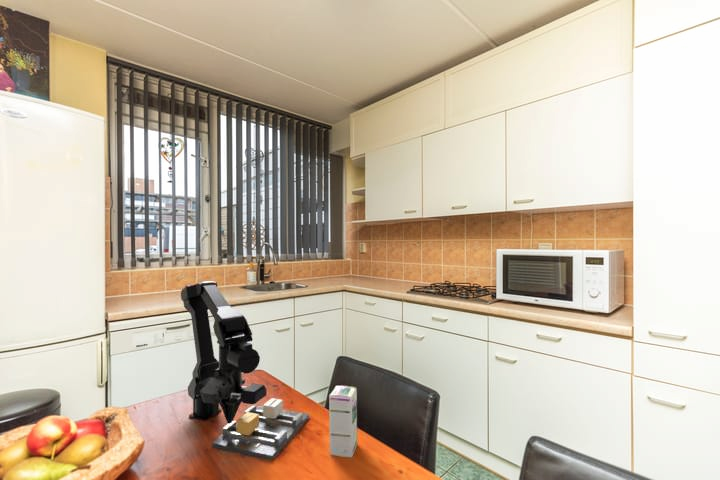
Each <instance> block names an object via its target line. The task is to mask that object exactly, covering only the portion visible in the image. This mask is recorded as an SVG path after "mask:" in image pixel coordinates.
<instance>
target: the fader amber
mask: <svg viewBox="0 0 720 480" xmlns="http://www.w3.org/2000/svg"><path fill="white" fill-rule="evenodd" d="M236 423H237V428H236V433H238V434H243V435H248V436H249V435H252V432H253V431H254V430H255V429H256V428H258V427H259V414H255V413H250V412H247V413H245V414H244V413H243V415H242V416H240V417H239V418H237V419H236Z"/></svg>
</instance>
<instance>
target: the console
mask: <svg viewBox="0 0 720 480" xmlns="http://www.w3.org/2000/svg"><path fill="white" fill-rule="evenodd" d="M247 412H250V413H255V414H259V427H258V428H256V429H255V430H254V431H253V432H252V435H249V436H248V435H243V434H238V433H236V428H237V420H233V422H232V423H227V424H226V425H225V426H224V427H222V434H221V435H220V436H218V437H217V438H216V439H215V440H214V441H212V442H211V449H216V450H220V451H224V452H230V453H233V454H238V455H241V456H248V457H253V458H257V459H262V460H266V461H270V462H272V461H273V460H274V459H276V457H277V456H278V455H279V454H280V452H281V451H282V450H283V449H284V448H285V446H286V445H288V443H289V442H290V441H291V439H293V437H294V436H295V435H296V434H297V433H298V432H299V430H300V429H301V428H302V427H303V426H304V425H305V424H306V422H308V420H309V419H310V413H307V412H306V413H305V412H299V411H293V410H287V409H283V411H282V412H281V413H280V414H279V415H278V416H277V419H273V418H267V417H263V405H258V406H257V405H256V404H251V406H250V407H248V408H247V409H246V410H245V411H243V415H244V414H245V413H247Z"/></svg>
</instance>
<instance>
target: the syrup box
mask: <svg viewBox="0 0 720 480" xmlns="http://www.w3.org/2000/svg"><path fill="white" fill-rule="evenodd" d="M357 390H358V389H357V387H356V386H351V385H350V386H348V385H335V387H334V388H333V389H332V391H331V393H330V394H329V396H328V398H329V400H328V403H329V404H328V405H329V406H328V409H329V410H328V412H329V413H328V414H329V416H328V417H329V419H328V420H329V421H328V422H329V424H328V425H329V429H328V430H329V455H331V456H335V457H343V458H353V455H354V453H355V451H356V448H357V446H358V402H357V401H358V399H357V398H358V397H357V396H358V393H357V392H358V391H357Z"/></svg>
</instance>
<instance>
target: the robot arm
mask: <svg viewBox="0 0 720 480" xmlns="http://www.w3.org/2000/svg"><path fill="white" fill-rule="evenodd" d="M180 298H181V301H182V303H183V306H184V308H185V310H186V311H187V312H188V313H189V314H190V316H191V325H192V333H193V339H194V347H195V356H196V364H195V366H194V368H193V370H192V379H191V380H190V382H189V385H188V386H187V395H188V397H190V398H191V399H192V400H193V401H192V412H191V413H190V414H189V415H188V418H189V419H196V420H201V421H208V420H210V419H211V418H212V417H214V416H215V415H217V414H218V413H220V412H221V411H222V412H223V415H224V417H225V421H226V423H227V424H229V423H232V422H233V421H234V419H235V417H236V414H237V412H238V411H239V408H240V405H241V404H247V405H256V404H257V403H258V402H259V401H260V400H262V399H263V398H265V397H266V396H267V393H268V392H267V386H266V385H265V384H262V383H261V384H260V383H251V384H250V385H248V386H244V384H245V382H246V379H245V378H244V379H243V374H250V373H252V372H254V371H256V369H257V368H258V366H259V364H260V360H261V356H260V354H259V353H258V351H257V350H256V349H254V348H253V344H252V343H250V342H253V336H252V335H253V332H252V329H251V328H250V326H249V323H248V321H247V318H246V317H245V315H244V314H243V313H242V312H241V311H239V310H238V309H236V308H233V307H231V306H230V305H229V303H228V301H227V300H226V298H225V296H224V295H223V294H222V292H221V291H220V289H219V288H218V283H217V282H216V281H213V280H209V281H206V280H205V281H200V282H197V283H195V284H191V285H185V287H183V288H182V289H181V291H180ZM208 310H209V311H208ZM209 313H210V314H211V316H212V317H213V319H214V321H213V326H212V328H213V331H214V335H215V337H216V339H217V340H216V343H217V345H218V359H217V358H216V357H215V352H214V346H213V340H212V339H213V338H212V332H211V325H210V324H211V323H210V318H209Z"/></svg>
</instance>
